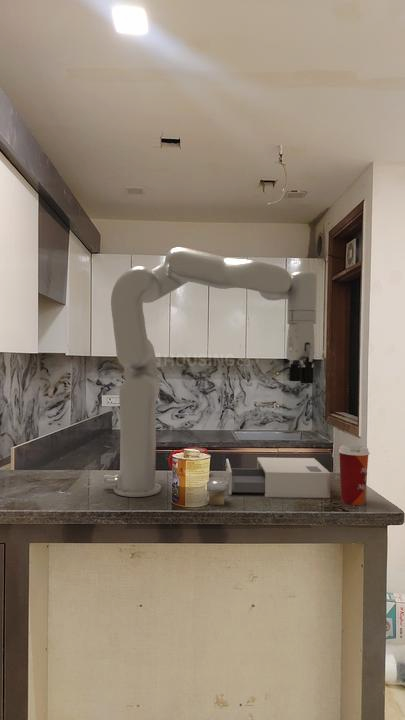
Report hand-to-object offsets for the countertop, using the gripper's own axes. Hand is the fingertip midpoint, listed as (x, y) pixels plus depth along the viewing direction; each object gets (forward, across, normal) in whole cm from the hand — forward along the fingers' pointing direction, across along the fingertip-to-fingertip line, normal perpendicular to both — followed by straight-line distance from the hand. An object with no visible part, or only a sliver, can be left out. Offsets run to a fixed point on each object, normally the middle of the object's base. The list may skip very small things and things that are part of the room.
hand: (300, 382), depth 126 cm
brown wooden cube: (+30, +6, -23) cm, 38 cm away
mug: (+30, -22, -28) cm, 47 cm away
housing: (+30, -6, 0) cm, 31 cm away
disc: (+27, +6, -23) cm, 36 cm away
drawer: (+30, -7, -10) cm, 32 cm away
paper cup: (+30, +8, +12) cm, 33 cm away
